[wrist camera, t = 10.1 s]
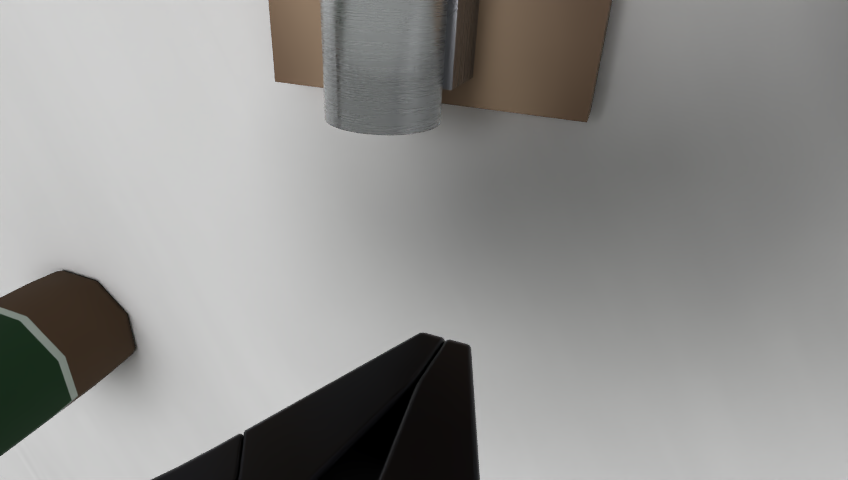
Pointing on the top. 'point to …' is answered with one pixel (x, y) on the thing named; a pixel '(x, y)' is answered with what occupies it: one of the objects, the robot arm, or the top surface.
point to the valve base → (509, 54)
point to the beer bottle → (55, 349)
